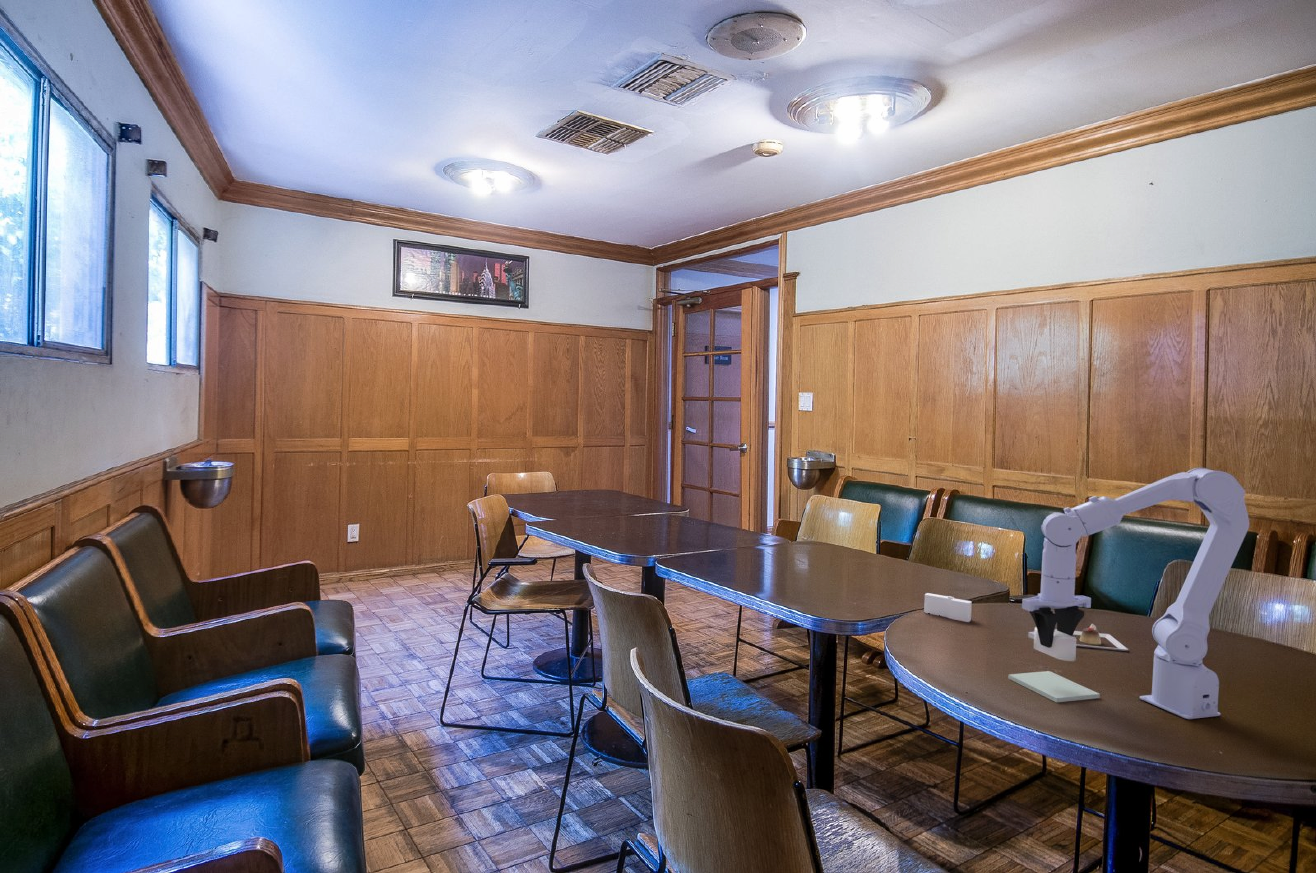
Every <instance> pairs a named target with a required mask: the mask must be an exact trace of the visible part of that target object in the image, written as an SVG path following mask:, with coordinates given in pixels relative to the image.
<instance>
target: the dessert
mask: <svg viewBox="0 0 1316 873" xmlns="http://www.w3.org/2000/svg"><path fill="white" fill-rule="evenodd" d="M1054 630H1057V628H1056V629H1054ZM1073 635H1074V636H1075V635H1077V636H1080V637H1079V639H1078V640H1079V641H1080V642H1082V643H1085V644H1089V645H1085V644H1077V643H1076V648H1077V647H1079V648H1090V649H1091V648H1092V649H1100V650H1101V649H1102V650H1111V651H1122V652H1123V651H1125V652H1126V651H1129V650H1130V649H1129V648H1128V647H1126V646H1125V645H1123V643H1121V642H1120V641H1119V640H1117V639H1116V638H1114V637H1113V636H1112V635H1111V634H1110V633H1102V632H1101V633H1100V632H1099V630H1098V629H1097V625H1095V624H1094V623H1091V625H1090V626H1089V627H1085V628H1083V629H1082V631H1080V630H1079V631H1078V630H1075V631H1074V633H1073ZM1101 638H1106V640H1108V641H1109V642H1110V643H1111V644H1112V645H1114V646H1115V647H1108V646H1098V645H1102V641H1101Z"/></svg>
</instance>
